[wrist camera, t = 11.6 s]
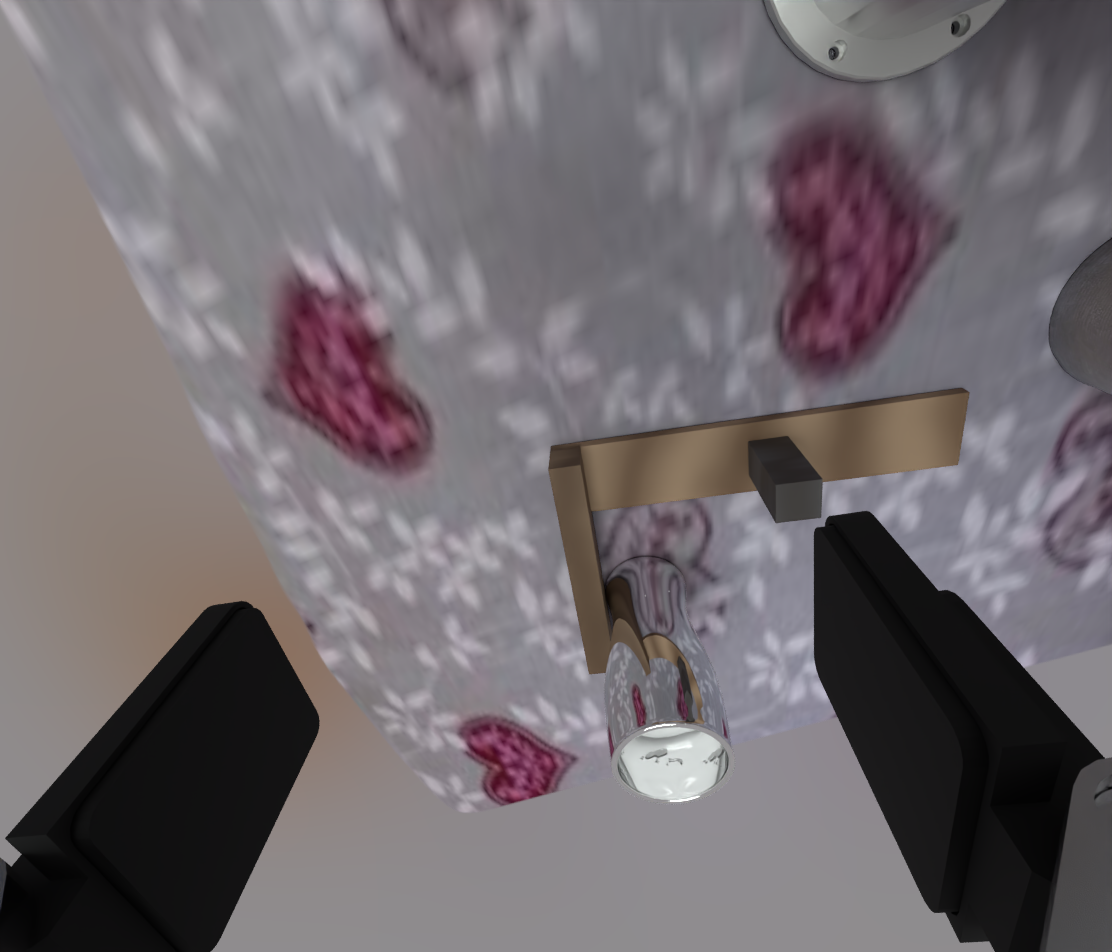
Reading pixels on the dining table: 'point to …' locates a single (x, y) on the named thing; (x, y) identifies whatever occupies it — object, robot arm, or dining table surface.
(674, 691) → the beer glass
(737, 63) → the dining table surface
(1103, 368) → the pillar candle
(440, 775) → the dining table surface
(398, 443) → the dining table surface
